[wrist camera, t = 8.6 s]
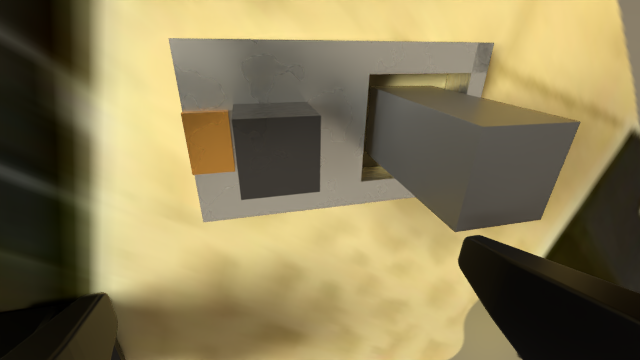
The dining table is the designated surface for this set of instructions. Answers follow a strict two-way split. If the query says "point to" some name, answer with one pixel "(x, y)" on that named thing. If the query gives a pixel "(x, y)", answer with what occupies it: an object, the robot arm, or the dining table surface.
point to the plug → (468, 153)
